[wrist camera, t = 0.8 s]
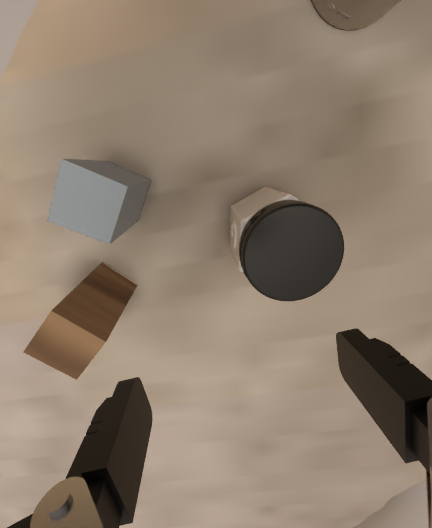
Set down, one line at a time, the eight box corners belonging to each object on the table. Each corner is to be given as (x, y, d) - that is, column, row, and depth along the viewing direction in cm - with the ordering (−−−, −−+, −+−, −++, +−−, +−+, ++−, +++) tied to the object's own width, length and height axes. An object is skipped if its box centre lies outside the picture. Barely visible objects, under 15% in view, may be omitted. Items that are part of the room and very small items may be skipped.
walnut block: (103, 261, 33) (51, 310, 22) (137, 284, 34) (105, 341, 23) (82, 291, 34) (23, 352, 23) (116, 312, 35) (76, 379, 24)
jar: (229, 185, 31) (244, 196, 19) (300, 186, 31) (355, 198, 20) (227, 260, 34) (239, 307, 22) (291, 260, 34) (335, 306, 23)
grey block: (107, 161, 29) (61, 158, 20) (151, 180, 30) (127, 186, 21) (94, 204, 31) (47, 220, 21) (137, 221, 32) (109, 244, 22)
